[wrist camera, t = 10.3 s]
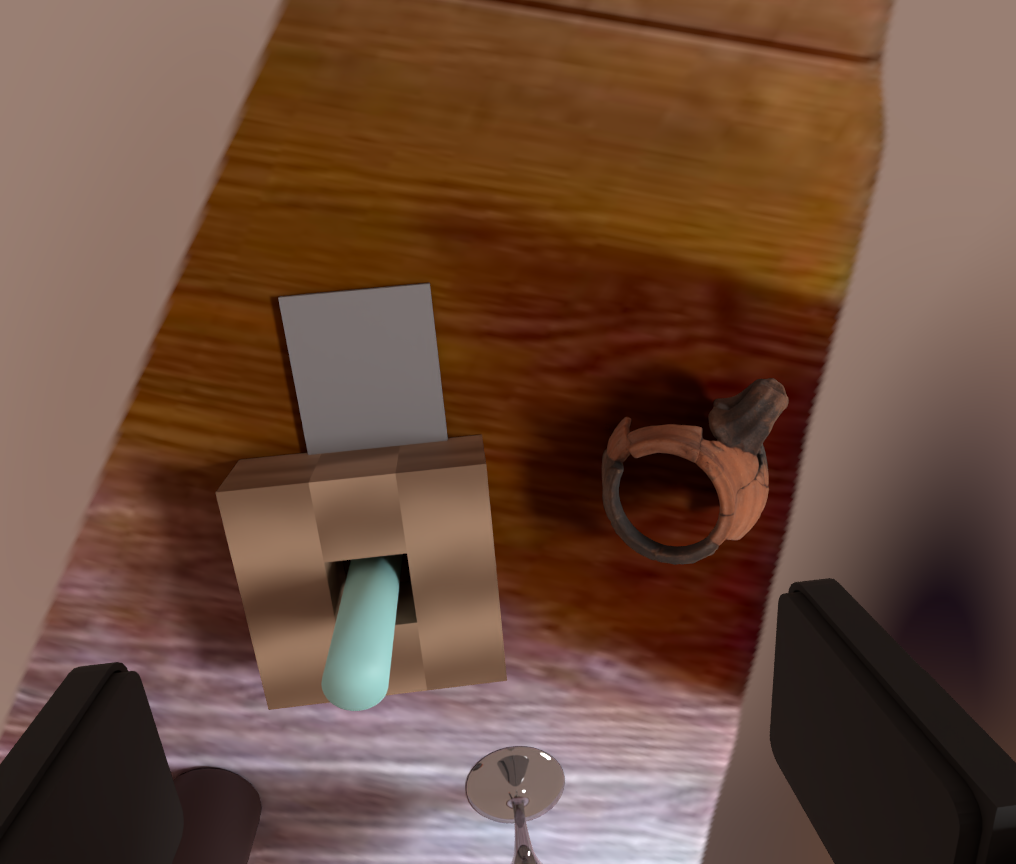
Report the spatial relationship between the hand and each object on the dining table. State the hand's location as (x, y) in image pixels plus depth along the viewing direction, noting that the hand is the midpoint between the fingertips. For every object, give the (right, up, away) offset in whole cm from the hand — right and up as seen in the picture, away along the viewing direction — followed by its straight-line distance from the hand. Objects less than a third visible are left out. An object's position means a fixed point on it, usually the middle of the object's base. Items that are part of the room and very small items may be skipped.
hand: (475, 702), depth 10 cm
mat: (-7, +7, +29) cm, 31 cm away
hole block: (-7, -3, +33) cm, 34 cm away
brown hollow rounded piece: (+11, +3, +33) cm, 35 cm away
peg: (-7, -3, +33) cm, 34 cm away
